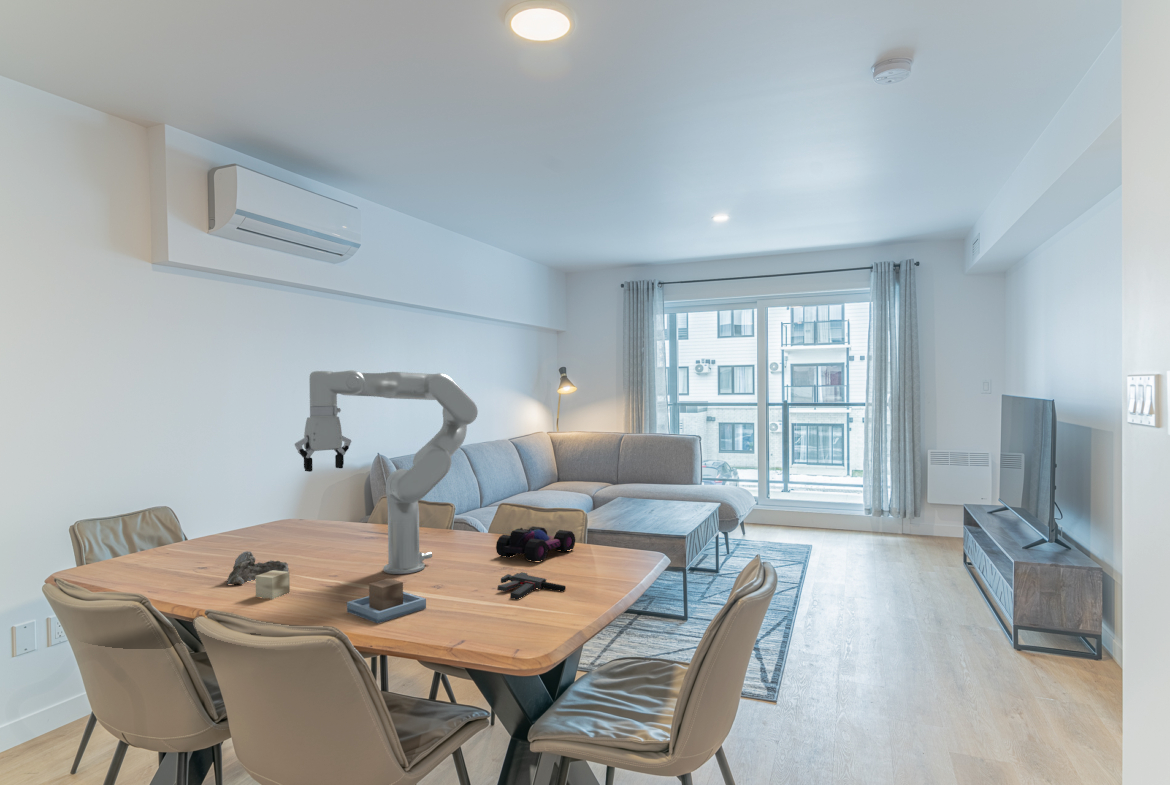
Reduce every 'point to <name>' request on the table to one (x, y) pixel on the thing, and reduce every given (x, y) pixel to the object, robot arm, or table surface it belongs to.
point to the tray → (363, 610)
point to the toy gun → (525, 584)
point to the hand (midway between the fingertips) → (324, 469)
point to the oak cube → (272, 584)
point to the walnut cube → (385, 594)
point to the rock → (252, 568)
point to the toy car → (534, 543)
